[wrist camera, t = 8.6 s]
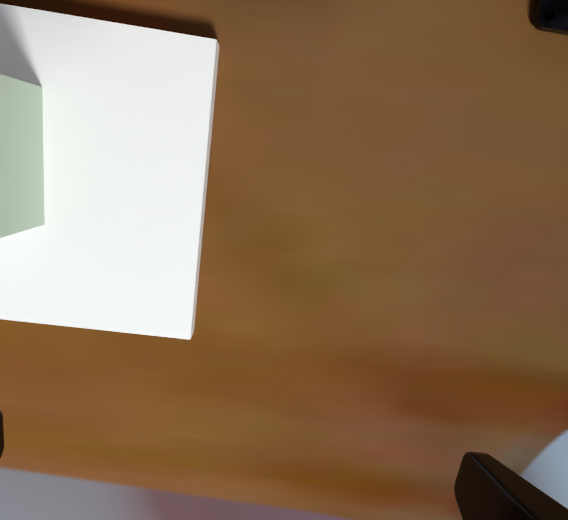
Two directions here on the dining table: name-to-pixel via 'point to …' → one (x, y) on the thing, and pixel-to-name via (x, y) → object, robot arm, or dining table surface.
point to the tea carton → (21, 156)
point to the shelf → (112, 173)
